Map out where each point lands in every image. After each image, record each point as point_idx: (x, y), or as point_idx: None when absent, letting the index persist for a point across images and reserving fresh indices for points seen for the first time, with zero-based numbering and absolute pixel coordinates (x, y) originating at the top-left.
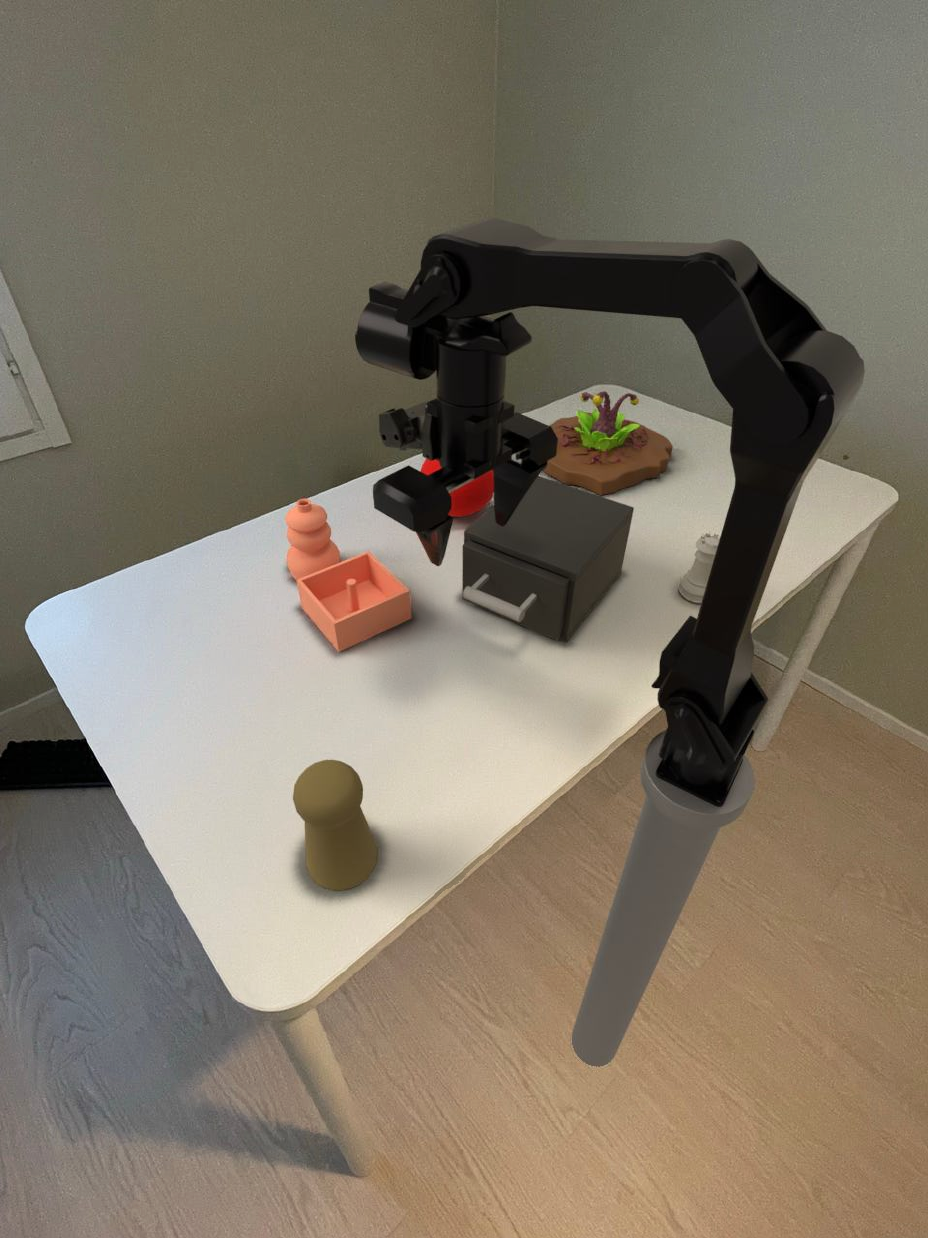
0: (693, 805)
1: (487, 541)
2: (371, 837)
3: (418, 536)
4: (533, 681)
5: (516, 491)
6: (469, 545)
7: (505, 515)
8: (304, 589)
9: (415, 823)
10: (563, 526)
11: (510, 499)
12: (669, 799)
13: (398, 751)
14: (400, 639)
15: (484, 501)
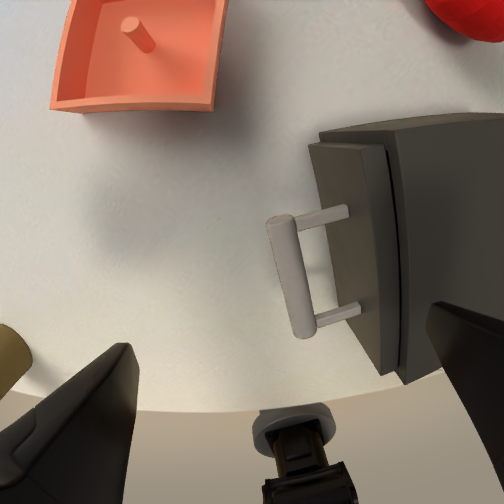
0: (263, 450)
1: (402, 205)
2: (20, 375)
3: (36, 407)
4: (265, 328)
5: (493, 444)
6: (370, 164)
7: (445, 362)
8: (70, 4)
9: (62, 366)
10: (499, 276)
11: (481, 407)
12: (254, 444)
13: (70, 306)
14: (166, 142)
15: (476, 38)
